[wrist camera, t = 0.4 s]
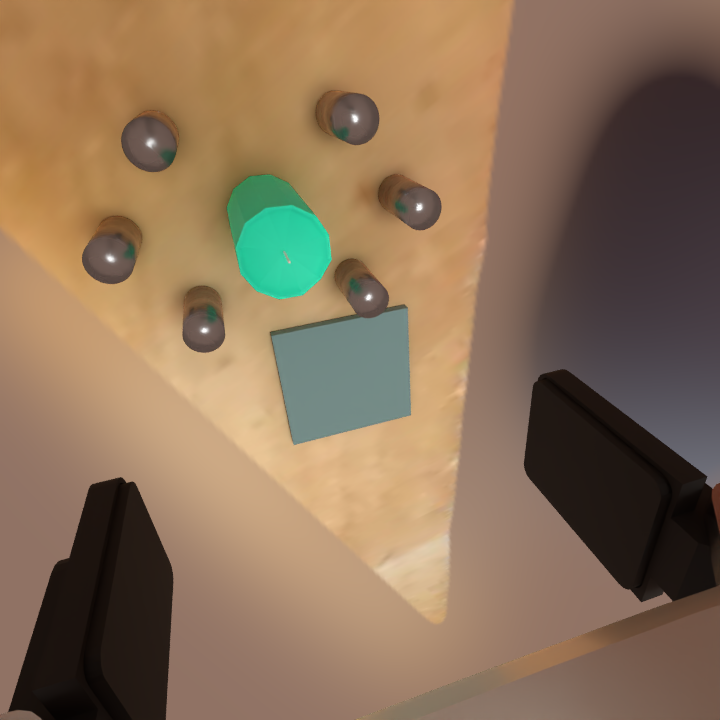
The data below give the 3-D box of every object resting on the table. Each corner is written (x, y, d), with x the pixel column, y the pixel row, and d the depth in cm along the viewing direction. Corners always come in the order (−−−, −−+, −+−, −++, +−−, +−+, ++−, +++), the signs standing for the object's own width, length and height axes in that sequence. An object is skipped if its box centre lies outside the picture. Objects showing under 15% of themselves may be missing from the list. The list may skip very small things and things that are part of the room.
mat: (270, 332, 44) (271, 336, 43) (404, 304, 46) (407, 308, 46) (292, 440, 51) (293, 444, 50) (408, 410, 53) (410, 415, 53)
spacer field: (54, 121, 32) (28, 130, 27) (409, 82, 37) (442, 84, 32) (134, 332, 40) (125, 369, 35) (413, 278, 45) (440, 303, 40)
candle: (246, 261, 40) (262, 323, 30) (212, 190, 37) (219, 235, 27) (313, 233, 40) (351, 286, 31) (285, 161, 37) (318, 194, 27)
